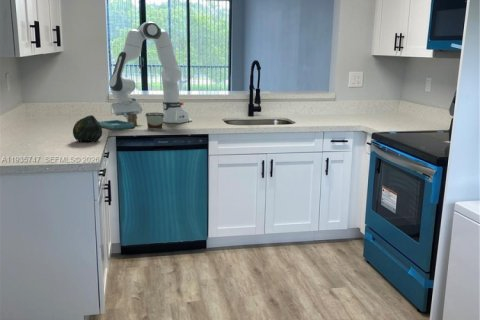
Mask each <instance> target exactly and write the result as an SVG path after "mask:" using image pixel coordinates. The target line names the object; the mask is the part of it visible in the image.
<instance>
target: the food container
mask: <svg viewBox="0 0 480 320" xmlns="http://www.w3.org/2000/svg"><path fill="white" fill-rule="evenodd" d="M163 116H164V114H163V112H157V111H156V112H147V113H145V117H146V123H147V129H148V130H163V127H164V125H163V123H164V122H163Z"/></svg>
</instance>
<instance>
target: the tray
mask: <svg viewBox="0 0 480 320" xmlns="http://www.w3.org/2000/svg"><path fill="white" fill-rule="evenodd" d="M98 122H99V124H100V125H101V127H102V128H104V127H105V129H108V128H109V129H110V130H114V131H118V130H119V131H121V130H127V129H128V130H129V129H134V128H135V126H134V123H130V122H127V121H123V120H120V119H113V120H102V121H101V120H100V121H98Z"/></svg>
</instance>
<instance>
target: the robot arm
mask: <svg viewBox="0 0 480 320" xmlns="http://www.w3.org/2000/svg"><path fill="white" fill-rule="evenodd" d="M145 40H146V41H147V40H152V41H153V42H154V44H155V49H156V53H157V56H158V60H159V63H160V64H161V67H162V70H161V72H160V73H161V74H160V75H161V83H162V91H163V92H162V93H163V101H162V113H163V114H164V116H163V123H169V124H171V123H174V124H182V123H188V121H189V122H192V121H193V119H192V118H190V117H189V112H188V111H187V110H185V109H184V108H183V107H182V106H184V105H185V103H184V102H183V101H182V102H180V89H179V85H178V84H179V83H178V82H179V81H180V80H181V78H182V71H181V70H180V66H179V63H178V59H176V56H175V55H176V54H175V52H174V46H173V43H172V41H171V37H170V35H169V32H168V31H167V30H164V29H161V28H160V27H159V26H158V24H157V23H155V22H153V21H146V22H143V23H142V24H140V25H139V26H138V28H137V29H130V30H129V31H128V32H127V35H126V38H125V41H124V46H123V49H122V51H121V52H119V54H118V57H117V59H116V63H115V66H114V69H113V72H112V74H111V77H110V79H109V83H108V85H109V87H110V92H111V94H112V96H113V98H114V99H115V102H116V103H115V102H113V103H112V104H111V108H112V110H113V114H114V115H115V116H116V117H117V116H118V117H119V116H123V117H124V118H125V119H126V120H129V119H130V117H129V116H127V113H136V114H137V115H140V114H142V112H143V107H142V106H141V104H140V103H139V102H138V99H137V98H134V97H130V96H129V95H130V94H132V93H133V92H134V91H135V90H136V82H135V80H134V79H133V78H130V77H123V73H124V69H125V66H126V64H127V63H128V62H131V61H132V62H133V61H135V60H138V58H140V56H141V53H142V48H143V42H144V41H145ZM137 119H138V116H137Z"/></svg>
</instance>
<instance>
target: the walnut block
mask: <svg viewBox="0 0 480 320" xmlns="http://www.w3.org/2000/svg"><path fill="white" fill-rule="evenodd" d="M127 116H129V117H130V119H129V120H127V119H126V120H127V121H126V122H130V123H134V127H137V125H138V122H137V121H138V120H137V119H138V118H137V117H138V114H136V113H127Z"/></svg>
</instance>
